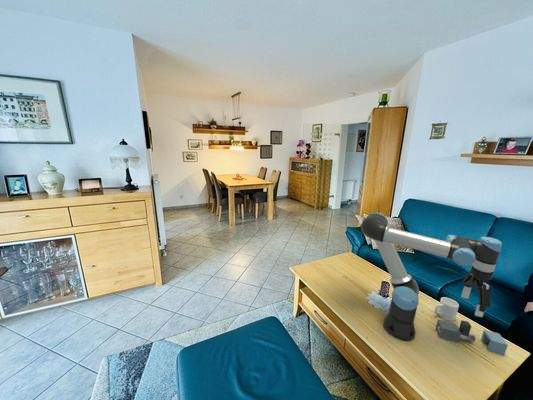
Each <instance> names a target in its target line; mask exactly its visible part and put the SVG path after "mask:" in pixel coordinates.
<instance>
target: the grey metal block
mask: <svg viewBox="0 0 533 400" xmlns="http://www.w3.org/2000/svg"><path fill="white" fill-rule="evenodd" d="M435 325H436V327H435V331H437V332H438V330H437V327H438V326H440V327H441V331H440V333H439V336H438V337H439V339H442V340H445V341H449V342H454V343H458V344H459V343H460V339H461V338H460V336H461V332H460V330H459V327H458V325H457V323H454V322H452V321H447V320H443V319H437V321H436V324H435Z"/></svg>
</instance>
